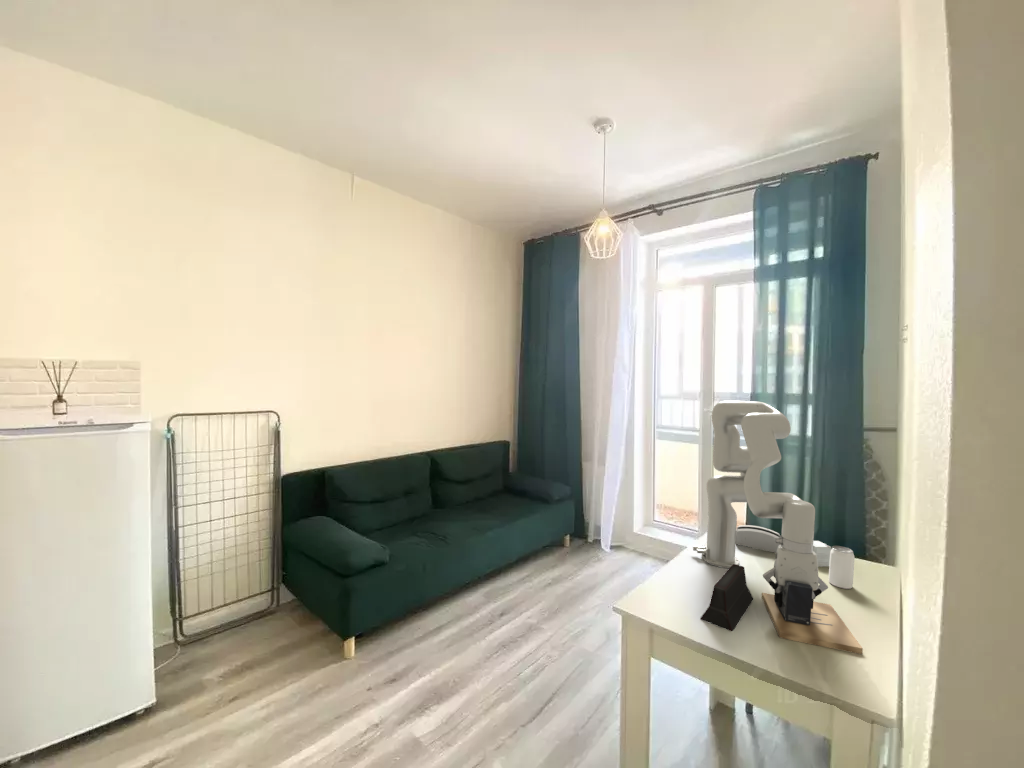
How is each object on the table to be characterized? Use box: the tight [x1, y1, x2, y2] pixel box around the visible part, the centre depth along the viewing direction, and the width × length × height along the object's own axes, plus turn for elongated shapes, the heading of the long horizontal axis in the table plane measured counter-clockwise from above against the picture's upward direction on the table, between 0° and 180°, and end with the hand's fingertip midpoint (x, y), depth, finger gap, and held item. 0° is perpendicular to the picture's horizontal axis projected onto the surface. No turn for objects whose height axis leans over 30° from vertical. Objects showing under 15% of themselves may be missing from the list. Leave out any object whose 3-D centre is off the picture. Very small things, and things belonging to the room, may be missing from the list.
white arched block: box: [736, 524, 781, 554], centre depth 175 cm, size 17×5×10 cm, turn 59°
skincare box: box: [813, 540, 832, 567], centre depth 162 cm, size 6×6×7 cm
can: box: [828, 545, 855, 590], centre depth 146 cm, size 6×6×12 cm
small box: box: [775, 581, 813, 625], centre depth 124 cm, size 11×6×10 cm, turn 162°
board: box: [761, 592, 864, 655], centre depth 122 cm, size 18×22×2 cm
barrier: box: [700, 564, 755, 632], centre depth 128 cm, size 24×9×10 cm, turn 139°
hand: (793, 607), depth 123 cm, fingers closed on small box, 6 cm apart
